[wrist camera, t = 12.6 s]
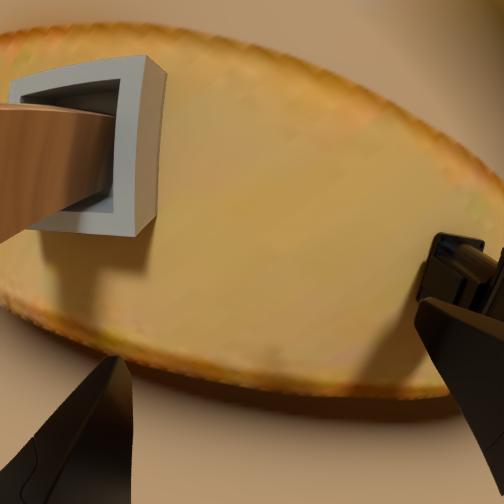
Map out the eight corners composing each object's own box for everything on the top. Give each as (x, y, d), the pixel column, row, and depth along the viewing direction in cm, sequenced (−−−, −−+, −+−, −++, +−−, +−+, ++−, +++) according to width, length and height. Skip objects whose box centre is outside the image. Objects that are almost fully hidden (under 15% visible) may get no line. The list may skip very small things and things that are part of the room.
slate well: (167, 73, 15) (146, 54, 11) (157, 214, 19) (135, 236, 14) (49, 86, 14) (10, 81, 10) (45, 209, 18) (9, 228, 14)
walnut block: (129, 119, 16) (-35, 110, 4) (111, 186, 17) (-40, 270, 5) (74, 107, 15) (-87, 107, 3) (59, 170, 16) (-92, 230, 4)
